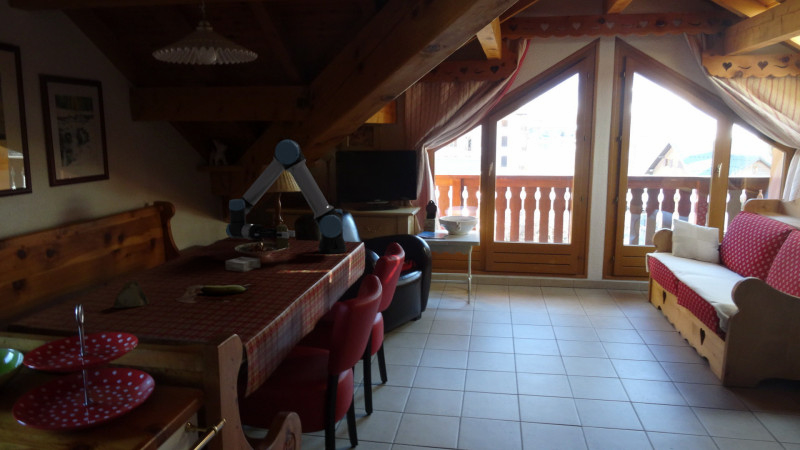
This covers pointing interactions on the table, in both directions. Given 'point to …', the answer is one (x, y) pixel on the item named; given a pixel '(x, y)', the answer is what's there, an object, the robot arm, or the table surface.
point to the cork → (282, 241)
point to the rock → (130, 296)
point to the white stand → (242, 264)
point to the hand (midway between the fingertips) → (291, 234)
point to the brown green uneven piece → (212, 291)
